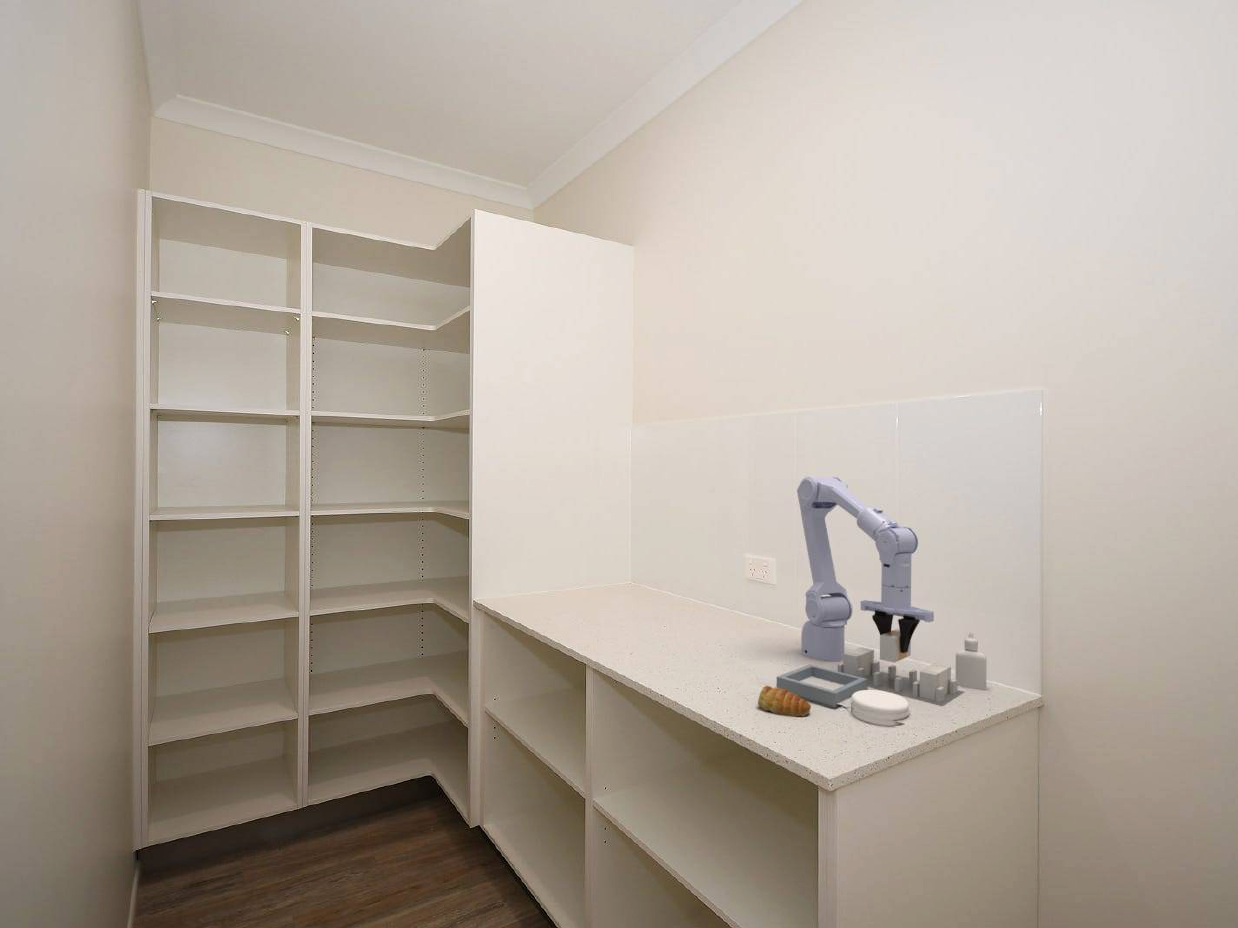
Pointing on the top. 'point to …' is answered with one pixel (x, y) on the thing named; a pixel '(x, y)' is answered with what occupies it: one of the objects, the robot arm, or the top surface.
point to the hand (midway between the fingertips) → (895, 650)
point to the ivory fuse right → (934, 680)
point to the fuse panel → (903, 684)
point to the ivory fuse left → (858, 661)
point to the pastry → (783, 702)
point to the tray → (820, 694)
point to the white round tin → (879, 707)
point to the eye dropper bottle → (971, 665)
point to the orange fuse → (892, 647)
